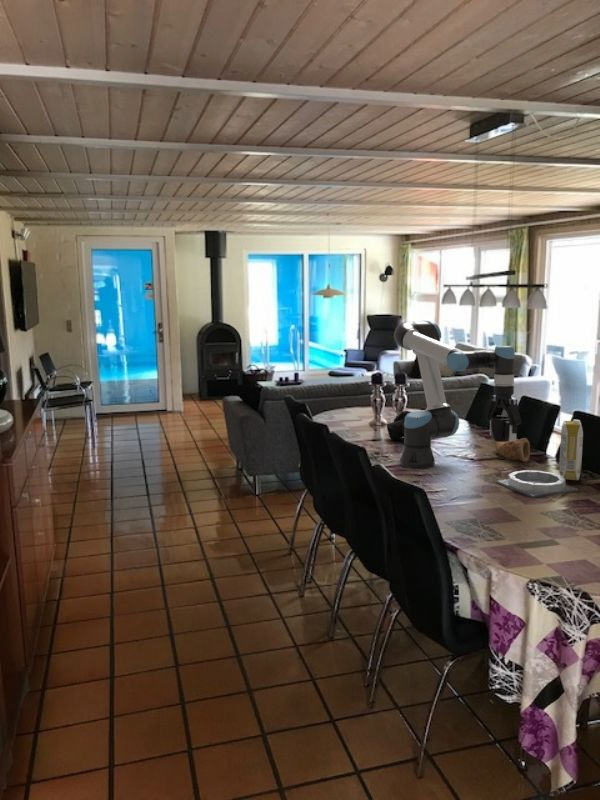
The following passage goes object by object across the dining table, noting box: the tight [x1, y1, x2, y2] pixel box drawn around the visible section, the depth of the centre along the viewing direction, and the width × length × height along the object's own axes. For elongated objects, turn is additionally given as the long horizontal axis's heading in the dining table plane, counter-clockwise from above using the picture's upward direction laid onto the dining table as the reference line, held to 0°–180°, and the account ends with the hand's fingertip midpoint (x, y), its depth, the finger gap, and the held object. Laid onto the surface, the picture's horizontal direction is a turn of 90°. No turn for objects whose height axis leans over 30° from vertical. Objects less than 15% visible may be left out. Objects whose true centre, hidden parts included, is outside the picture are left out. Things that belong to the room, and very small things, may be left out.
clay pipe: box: [495, 437, 531, 463], centre depth 288 cm, size 19×11×15 cm
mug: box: [491, 415, 511, 442], centre depth 254 cm, size 8×12×10 cm
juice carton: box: [559, 419, 584, 481], centre depth 255 cm, size 9×8×24 cm
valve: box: [386, 410, 412, 441], centre depth 322 cm, size 22×15×30 cm
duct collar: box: [496, 469, 579, 499], centre depth 245 cm, size 21×21×4 cm
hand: (502, 438), depth 254 cm, fingers closed on mug, 12 cm apart
